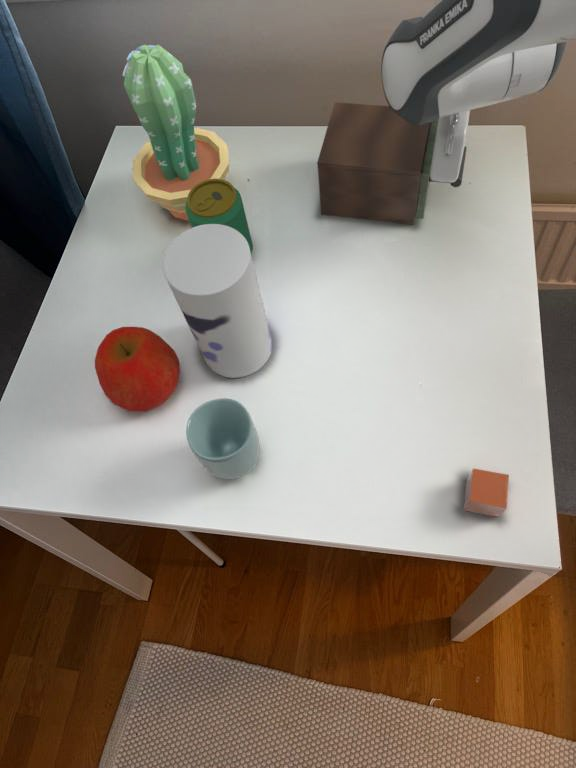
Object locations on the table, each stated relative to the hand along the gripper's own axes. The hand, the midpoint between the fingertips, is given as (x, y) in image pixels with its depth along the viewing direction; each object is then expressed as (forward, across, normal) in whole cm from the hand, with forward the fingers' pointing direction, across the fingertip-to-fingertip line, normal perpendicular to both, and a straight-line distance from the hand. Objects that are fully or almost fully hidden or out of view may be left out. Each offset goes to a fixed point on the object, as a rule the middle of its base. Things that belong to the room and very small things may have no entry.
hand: (445, 158), depth 84 cm
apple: (+8, -40, +35) cm, 54 cm away
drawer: (+7, 0, +6) cm, 9 cm away
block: (+7, -47, -11) cm, 49 cm away
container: (+8, -32, +24) cm, 41 cm away
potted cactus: (+8, -6, +39) cm, 41 cm away
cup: (+8, -48, +20) cm, 53 cm away
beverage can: (+8, -16, +30) cm, 35 cm away
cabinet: (+8, 0, +10) cm, 13 cm away
